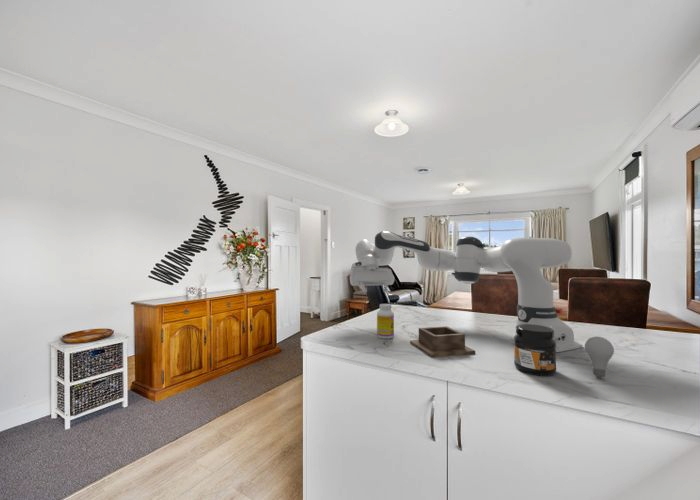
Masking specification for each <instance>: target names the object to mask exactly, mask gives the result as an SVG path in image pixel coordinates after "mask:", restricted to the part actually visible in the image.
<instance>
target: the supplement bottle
mask: <svg viewBox="0 0 700 500" xmlns="http://www.w3.org/2000/svg"><path fill="white" fill-rule="evenodd" d="M394 317H395V314H394V312H393V310H392V305H391V303H380V304H379V310H378V311H377V312H376V336H377V337H378V338H379V339H384V340H390V339H393V338H394V335H395V333H394V332H395V331H394V330H395V318H394Z"/></svg>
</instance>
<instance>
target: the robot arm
mask: <svg viewBox="0 0 700 500" xmlns="http://www.w3.org/2000/svg"><path fill="white" fill-rule="evenodd" d="M396 248H400V249H403V250H409V251H412V252H414V253H415V254H416V257H417V262H418V264H419V265H420V267H421V268H423V269H424V270H428V271H436V272H449V271H452V272H451V275H452V276H454V278H455V279H456V280H457V281H458V282H460V283H462V284H464V285H465V284H466V285H471V284H475V283H476V284H477V283H478V281H479V280H480V277H481V274H480V273H481V268H482V269H484V270H485V271H488V272H493V273H505V272H512V273H513V275H514V277H515V279H516V284H517V296H518V297H517V299H518V301H517V302H518V303H517V305H516V314H517V321H516V326H517V325H521V324H531V325H540V326H545V327H549V328H552V329H553V330H554V338H553V339H554V340H555V341H556V343H557V345H556V353H562V352H567V351H571V350H575V349H580V348H581V349H582V348H583V344H582V343H581V342H579V341H577V340H575V336H574V335H575V334H574V331H573V329H572V328H571V327H570V326H569V325H567V323H565V322H564V321H562V319H560V318H559V315H562V314H563V313H564V308H561V307H555V306H554V285H553V284H552V282H550V281H549V280H547V279H546V278H545V277H544V276H543V274H542V269H552V268H558V267H562V266H565V265H567V264H568V263H569V262H570V261H571V259H572V255H573V253H572V248H571V246H570V244H569V243H568V242H567V241H565V240H561V239H558V238H552V237H517V238H511V239H508V240H505V241H504V242H503V243H502V245H499V246H494V247H492V248H487V249H485V248H486V244H485V243H483V242H482V241H481V239H480V238H477V237H474V236H470V235H469V236H467V235H465V236H461V237H459V238H458V239H457V242H456V251H452V250H449V249H446V248H438V247H433V246H430V245H429V243H428V242H426V241H425V240H420V239H417V238H413V237H409V236H405V235H400V234H397V233H395V232H393V231H391V230H382V231H380V232H378V233H377V234H376V235H375V236H374V243H372V242H371V241H369V240H368V239H362V240H359V242H357V243H356V246H355V255H356V259H357V261H356V262H353V263H352V265H351V266H350V270H349V271H350V272H349V273H350V275H349V283H350V285H351V286H353V287H355V286H356V287H359V288H360V289H361V290H362V292H363V293H367V292H368V288H367V286H383V289H382V290H383V293H388V291H389V288H388V286H392V285H393V284H394V283H395V278H396V277H395V276H394V274H393V271H392V269H390V268H389V267H387V266H388V265H390V264H391V263H392V261H393V257H394V252H395V249H396ZM365 286H366V287H365ZM558 314H559V315H558ZM516 334H517V333H516V332H515V334H514V336H515V335H516ZM512 341H513V343H514V339H513V340H512Z"/></svg>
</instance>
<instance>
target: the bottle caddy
mask: <svg viewBox="0 0 700 500" xmlns="http://www.w3.org/2000/svg"><path fill="white" fill-rule="evenodd" d="M409 343H410V345H412V346H414V347H415V348H416V349H418V350H419V351H421V352H422V353H424V354H426V355H427V356H429V357H430V358H431V359H432V358H442V357H452V356H453V357H454V356H467V355H476V350H475V349H473V348H471V347H468V346H466V334H465V333H464V332H461V331H458V330H456V329H454V328H451V327H449V326H446V325H445V326H434V327H433V326H431V327H430V326H428V327H418V339H414V340H409Z"/></svg>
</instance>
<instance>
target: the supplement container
mask: <svg viewBox="0 0 700 500" xmlns="http://www.w3.org/2000/svg"><path fill="white" fill-rule="evenodd" d="M515 333H517V334H516V335H515V334H514V337H513V340H514V342H513V343H514V344H513V345H514V346H513V347H514V348H513V349H514V350H513V351H514V354H513V355H514V357H513V359H514V360H513V364H514V366H515V368H517V369H518V370H520V371H521V372H523V373H526V374H530V375H535V376H545V377H546V376H551V375H554V374H556V373H557V352H556V345H557V343H556V341H555V340H554V339H553V338H554V330H553V329H552V328H549V327H545V326H540V325H531V324H521V325H517V324H516V326H515Z"/></svg>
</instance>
